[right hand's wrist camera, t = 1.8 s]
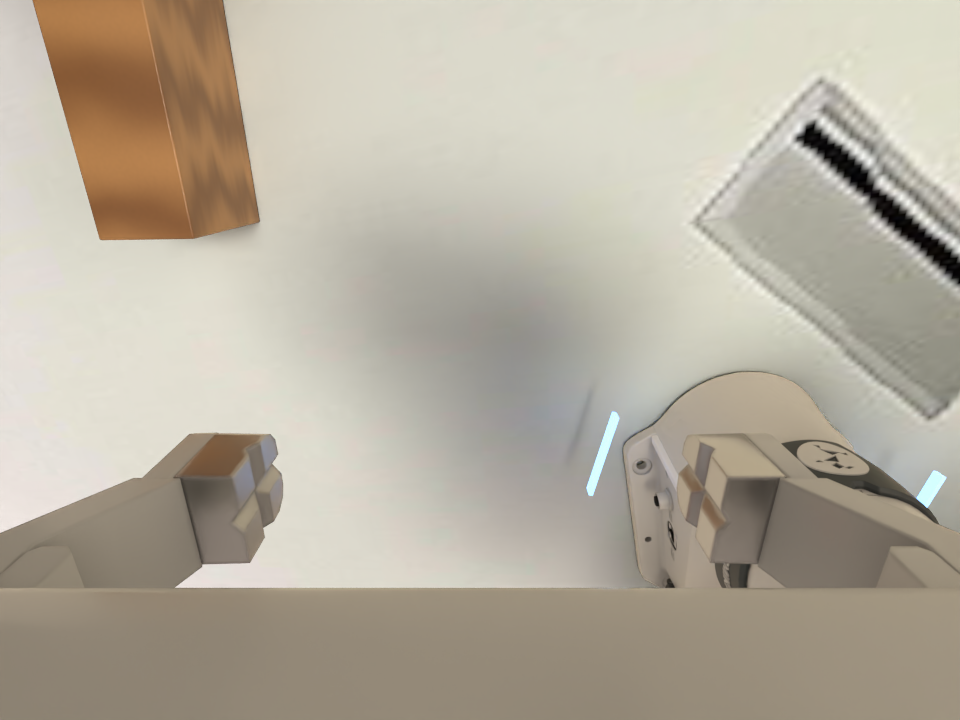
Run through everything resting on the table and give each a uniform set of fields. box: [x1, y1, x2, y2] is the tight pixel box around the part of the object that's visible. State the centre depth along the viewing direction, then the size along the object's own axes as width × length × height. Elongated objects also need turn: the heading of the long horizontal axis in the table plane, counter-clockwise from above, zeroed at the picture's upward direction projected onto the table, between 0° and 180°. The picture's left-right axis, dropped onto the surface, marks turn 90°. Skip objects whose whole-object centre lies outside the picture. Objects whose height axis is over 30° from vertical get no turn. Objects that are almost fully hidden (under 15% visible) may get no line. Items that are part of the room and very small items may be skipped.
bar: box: [33, 0, 259, 240], centre depth 29 cm, size 25×6×9 cm, turn 1°
